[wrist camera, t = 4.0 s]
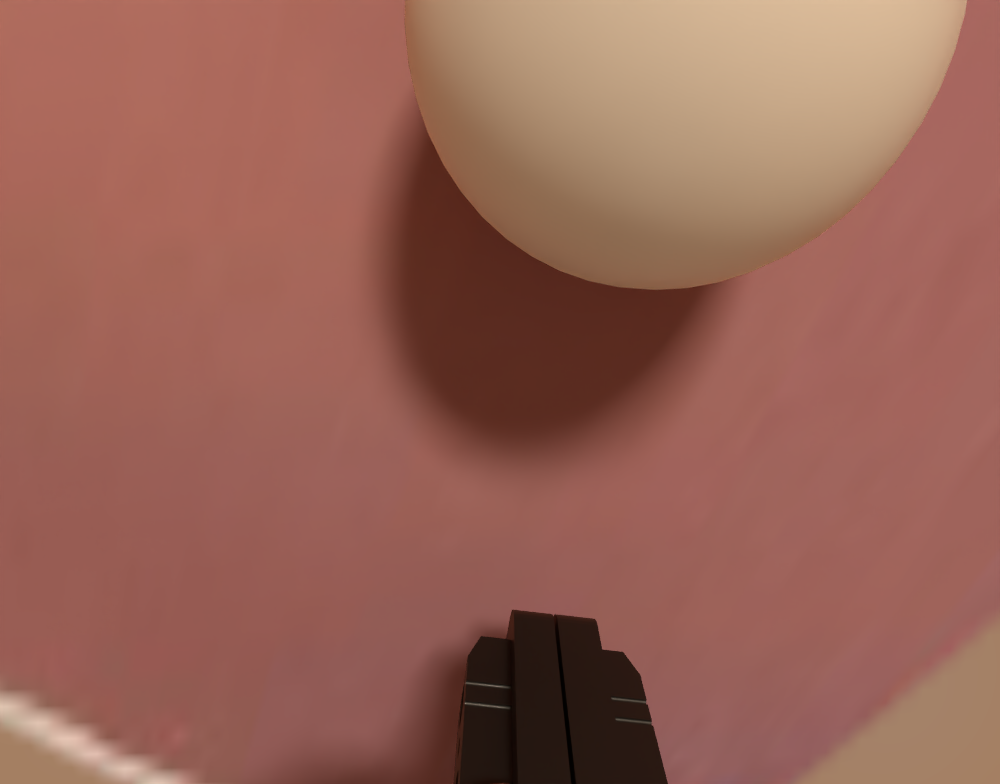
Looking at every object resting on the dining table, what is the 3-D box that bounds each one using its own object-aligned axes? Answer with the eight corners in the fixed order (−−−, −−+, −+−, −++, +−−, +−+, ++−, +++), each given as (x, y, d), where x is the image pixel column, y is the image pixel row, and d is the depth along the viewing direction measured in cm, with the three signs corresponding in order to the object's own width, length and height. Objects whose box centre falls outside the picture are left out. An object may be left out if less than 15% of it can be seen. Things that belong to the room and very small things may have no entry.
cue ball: (572, 316, 12) (634, 470, 7) (350, 13, 11) (189, -116, 5) (879, 97, 11) (1266, 65, 6) (683, -285, 9) (953, -891, 4)
